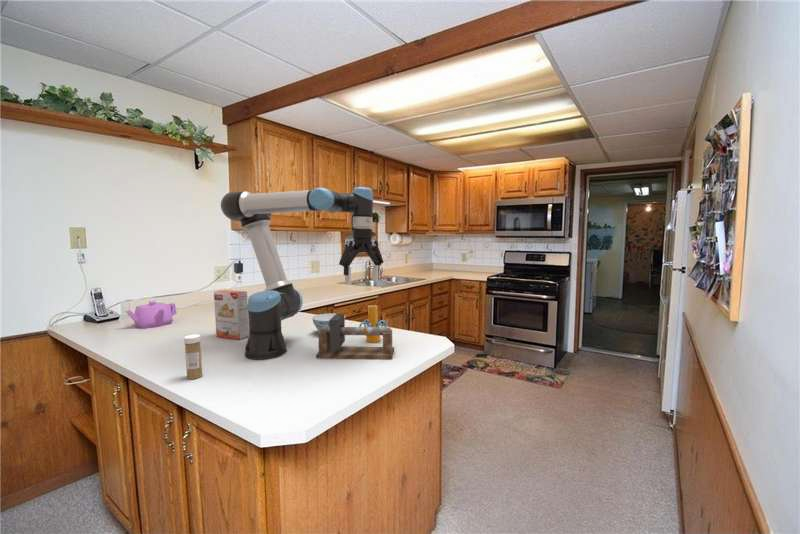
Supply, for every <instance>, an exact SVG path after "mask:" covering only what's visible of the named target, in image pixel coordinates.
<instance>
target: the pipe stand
mask: <svg viewBox="0 0 800 534" xmlns="http://www.w3.org/2000/svg"><path fill="white" fill-rule="evenodd" d="M317 334H318V352H316V354H315V359H325V358H327V359H329V358H330V359H331V360H332V359H334V358H336V359H335V360H337V359H338V360H339V359H340V360H391V359H393V356H394V352H395V347H394V346H393V329H392V328H391V327H389V326H388V327H387V326H386V327H384V326H383V327H381V326H379V327H364V326H363V327H362V326H361V327H359V326H345V327H340V335H345V336H365V337H366V336H368V335H380V336H382V346H352V345H349V346H348V345H347V346H345V345H343V346H341V347H340V348H339V350H330V327H321V331H319V332H318V333H317Z"/></svg>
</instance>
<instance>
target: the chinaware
mask: <svg viewBox="0 0 800 534" xmlns="http://www.w3.org/2000/svg"><path fill="white" fill-rule="evenodd" d="M336 314H337V313H323V314H322V313H320V314H317V315H313V316H312V318H311V319H312V323H313V326H314V327H315V328H316V329H317V331H319V332H320V331H321V327H330V322H329V320H330V319H331V318H332V317H333V316H335V315H336ZM346 317H347V316H346V315H345V314H344V321H346Z"/></svg>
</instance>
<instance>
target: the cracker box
mask: <svg viewBox="0 0 800 534" xmlns="http://www.w3.org/2000/svg"><path fill="white" fill-rule="evenodd" d="M213 301H214V316H215V318H214V320H215V336H216V337H217V338H225V339H230V340H236V339H237V341H241V340H244V339H247V338H249V319H248V308H247V306H248V291H246V290H245V291H244V290H233V289H232V290H230V289H220V290H216V291H213ZM246 337H247V338H246ZM243 338H244V339H243Z"/></svg>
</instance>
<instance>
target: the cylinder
mask: <svg viewBox="0 0 800 534" xmlns="http://www.w3.org/2000/svg"><path fill="white" fill-rule="evenodd" d="M378 308H379V307H378V305H376V304H373V305H368V306H367V313H368V314H367V319H366V318H365V319H364V321H362V322H360V324H359V326H358V327H362V325H363V327H387V326H388V324H387V323H388V322H387V321H386V320H384V319H380V320H379V319H378V318H379V316H378V315H379V313H378V310H379V309H378ZM382 323H384V326H383V324H382ZM365 338H366V339H365V341H366V342H367V343H379V342H381V335H368V336H365Z"/></svg>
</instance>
